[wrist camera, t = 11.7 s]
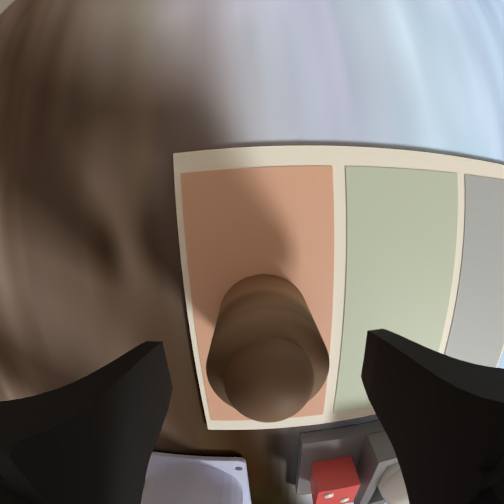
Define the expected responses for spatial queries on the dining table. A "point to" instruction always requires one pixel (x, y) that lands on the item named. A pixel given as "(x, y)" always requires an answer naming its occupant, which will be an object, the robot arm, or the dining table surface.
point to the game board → (345, 254)
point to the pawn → (266, 350)
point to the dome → (393, 485)
